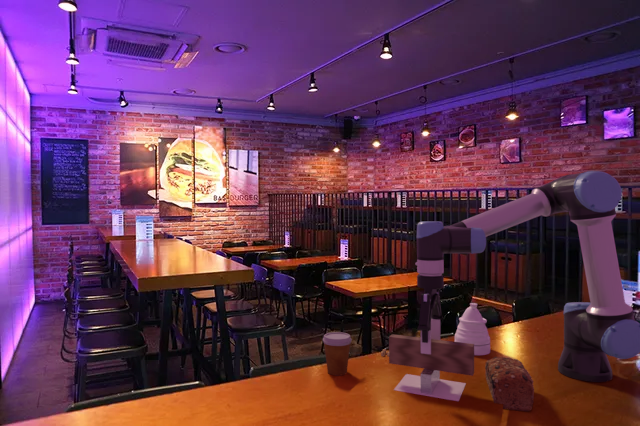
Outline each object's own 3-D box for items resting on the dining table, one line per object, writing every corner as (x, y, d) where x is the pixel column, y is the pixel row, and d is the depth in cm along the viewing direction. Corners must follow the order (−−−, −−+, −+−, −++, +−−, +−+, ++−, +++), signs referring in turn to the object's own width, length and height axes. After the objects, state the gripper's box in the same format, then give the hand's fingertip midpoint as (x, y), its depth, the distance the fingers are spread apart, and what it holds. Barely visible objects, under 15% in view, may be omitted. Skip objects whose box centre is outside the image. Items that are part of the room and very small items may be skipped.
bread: (534, 413, 116) (534, 375, 116) (491, 409, 119) (491, 371, 119) (521, 386, 134) (521, 353, 134) (484, 383, 137) (484, 350, 137)
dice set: (391, 360, 160) (391, 354, 160) (378, 357, 163) (378, 352, 163) (396, 356, 165) (396, 351, 165) (383, 354, 167) (383, 348, 167)
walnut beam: (474, 372, 127) (474, 344, 127) (472, 375, 124) (472, 346, 124) (392, 360, 137) (391, 334, 137) (389, 363, 134) (389, 336, 134)
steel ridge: (439, 380, 135) (439, 362, 135) (431, 394, 124) (431, 375, 124) (429, 378, 136) (429, 360, 136) (420, 393, 126) (420, 373, 126)
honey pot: (495, 355, 164) (495, 306, 164) (460, 355, 164) (460, 306, 164) (483, 345, 176) (483, 299, 176) (450, 344, 177) (450, 299, 177)
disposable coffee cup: (355, 369, 149) (355, 333, 149) (345, 379, 140) (345, 341, 140) (329, 365, 153) (329, 330, 153) (317, 374, 144) (317, 337, 144)
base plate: (465, 388, 133) (465, 383, 133) (458, 406, 120) (458, 401, 120) (406, 378, 141) (406, 373, 141) (393, 395, 128) (393, 389, 128)
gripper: (426, 268, 143) (427, 334, 143) (406, 279, 121) (407, 357, 121) (450, 269, 140) (451, 337, 140) (434, 280, 118) (435, 361, 118)
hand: (431, 346), depth 130 cm, fingers open, 13 cm apart
